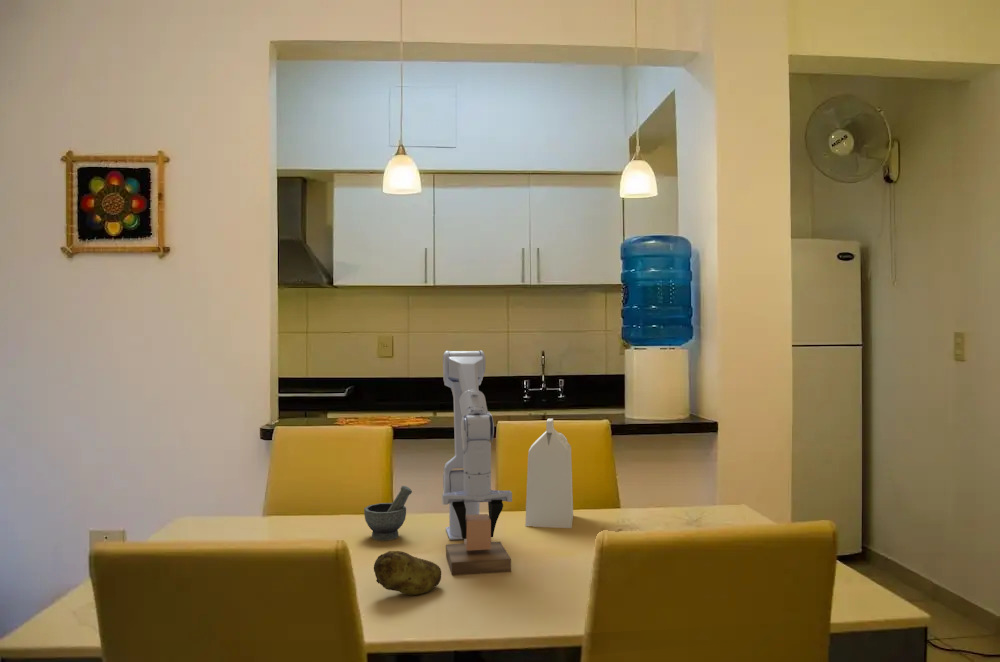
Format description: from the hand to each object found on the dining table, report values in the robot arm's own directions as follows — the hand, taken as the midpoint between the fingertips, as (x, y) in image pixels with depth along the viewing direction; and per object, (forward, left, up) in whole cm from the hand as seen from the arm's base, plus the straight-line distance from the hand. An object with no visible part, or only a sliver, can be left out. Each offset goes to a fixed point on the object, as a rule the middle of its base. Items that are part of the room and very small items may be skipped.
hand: (477, 536), depth 146 cm
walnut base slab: (0, 0, -6) cm, 6 cm away
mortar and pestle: (-23, -18, -6) cm, 30 cm away
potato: (+14, -15, -6) cm, 21 cm away
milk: (-30, +23, -6) cm, 38 cm away
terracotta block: (0, 0, -2) cm, 2 cm away
